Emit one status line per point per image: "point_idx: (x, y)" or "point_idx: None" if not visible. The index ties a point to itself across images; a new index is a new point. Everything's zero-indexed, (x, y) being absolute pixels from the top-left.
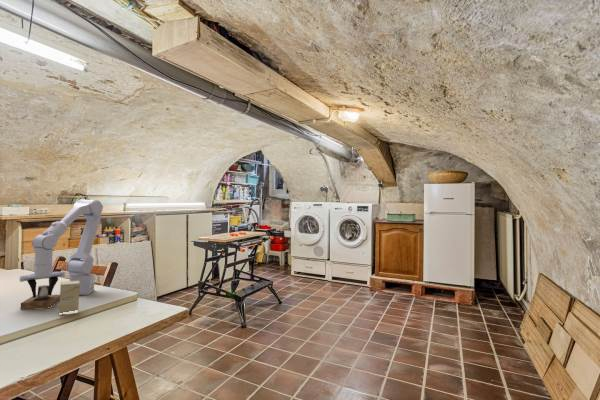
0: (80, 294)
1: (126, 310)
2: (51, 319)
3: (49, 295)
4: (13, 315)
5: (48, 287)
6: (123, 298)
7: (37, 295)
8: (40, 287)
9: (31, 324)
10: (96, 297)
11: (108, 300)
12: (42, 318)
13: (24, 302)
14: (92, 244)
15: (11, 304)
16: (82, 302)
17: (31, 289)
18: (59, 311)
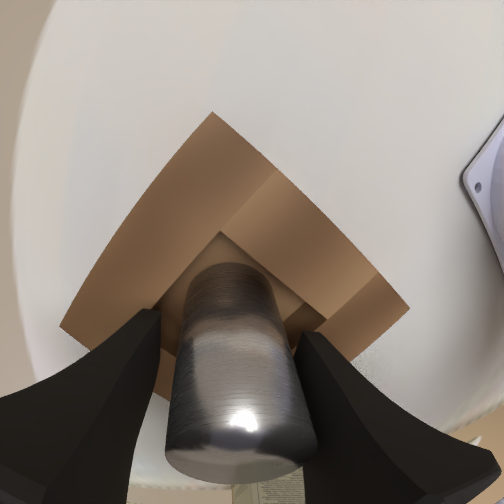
0: (500, 260)
1: None
2: (198, 484)
3: (331, 263)
4: (58, 369)
5: (284, 466)
6: (487, 411)
7: (176, 357)
8: (187, 470)
9: (133, 477)
10: (486, 353)
11: (459, 414)
12: (172, 467)
13: (81, 331)
14: None
15: (52, 101)
16: (407, 396)
17: (87, 361)
18: (232, 496)
